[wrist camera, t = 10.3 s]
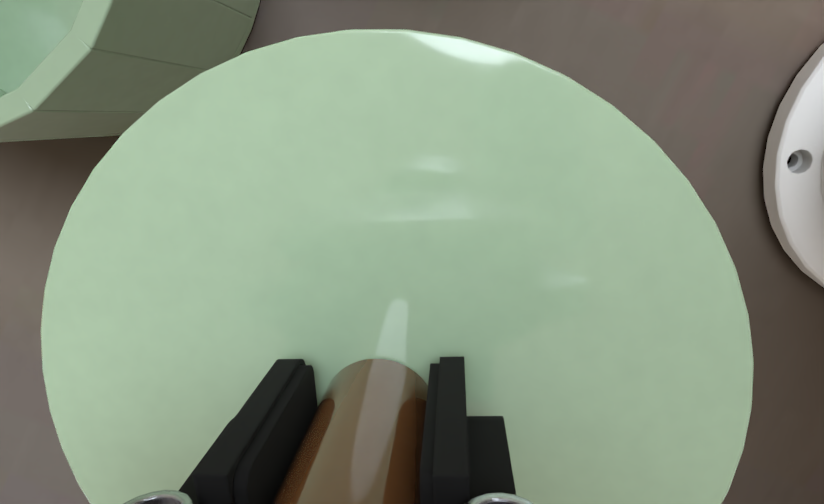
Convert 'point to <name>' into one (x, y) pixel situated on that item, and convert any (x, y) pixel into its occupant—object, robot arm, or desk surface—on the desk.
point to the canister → (106, 60)
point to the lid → (397, 279)
